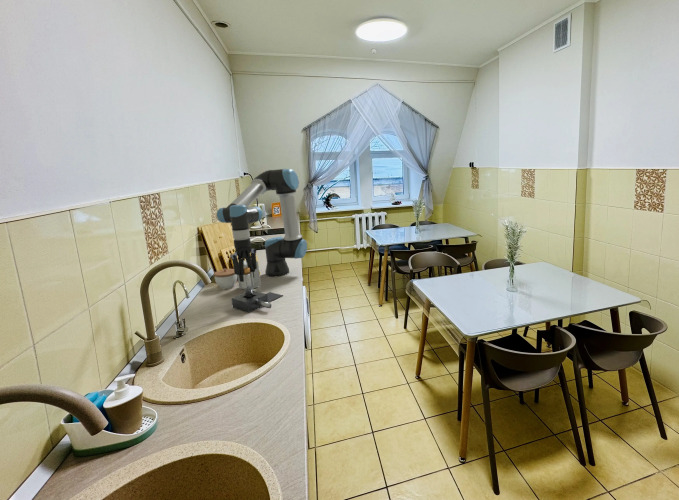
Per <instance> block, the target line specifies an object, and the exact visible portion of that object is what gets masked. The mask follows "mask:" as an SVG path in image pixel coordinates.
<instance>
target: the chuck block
mask: <svg viewBox="0 0 679 500" xmlns="http://www.w3.org/2000/svg"><path fill="white" fill-rule="evenodd" d="M252 291H253V296H252V297H245V292H243V293H240V294H239V295H236V296H233V297H231V304H232V309H236V310H238V311H242V312H245V313H252V312H253V311H256V310H258V309H260V308H266V309H271V308H272V303H271V302H269V303H268V296H267V293H264V292H261V291H256V290H252Z"/></svg>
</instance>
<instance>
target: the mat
mask: <svg viewBox="0 0 679 500" xmlns="http://www.w3.org/2000/svg"><path fill="white" fill-rule="evenodd" d="M266 294H267V296H268V303H271V302H273V301H275V300H277V299H279V298H282V297H284V295H283V294H280V293H275V292H271V291H269V292H267V293H266Z"/></svg>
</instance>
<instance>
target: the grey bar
mask: <svg viewBox="0 0 679 500" xmlns="http://www.w3.org/2000/svg"><path fill="white" fill-rule="evenodd" d="M243 274H244V275H245V279H246V286H247V288H244V289H243V290H244V293H245V297H252V296H253V291H254V290H253V289H252V283H251V275H250V267H245V268H244V270H243Z"/></svg>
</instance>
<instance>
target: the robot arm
mask: <svg viewBox="0 0 679 500" xmlns="http://www.w3.org/2000/svg"><path fill="white" fill-rule="evenodd" d="M299 182H300V181H299V176H298V174H297V173H296V171H295V170H294V169H293V168H281V169H268V170H265V171H263V172H261V173H259V174H258V175H257V176H255V177H254V178H253V179H252V180H251V182H250V184H249V185H248V187H246V188H245V189H244V190H243V191H242V192H241V193H240V194H239V195H237V197H236V198H235V199H233V201H231V202H230V204H228V206H226V207H220V208H218V209H217V212H216V218H217V220H218V221H219V222H220V223H221V224H222V223H225V224H230V223H231V224H230V225H231V231H232V238H233V244H234V245H233V246H234V249H235V250H234V253H233V254H230V256H229V257H230V258H231V261H232V266H233V269H234V272H235V274H236V275H237V276H238V275H239V279H240V282H241V285H242V288H247V286H246V279H245V275H244V274H243V270H244V261H245V260H246V262H247V266H248V267H250V275H251V283H252V285H254V280H253V278H254V272H255V269H257V264H256V261H257V256H256V255H257V249H255V248H252V247H251V246H252V242H251V238H250V237H251V234H250V226H249V224H252V223H258V222H259V221H261V220H262V218H263V216H264V212H263V210H262V208H261V207H260V206H255V205H252V204H253V203H254V202H255V201H256V200H257V199H258V198H259V197H260V196H261V195H264V194H265V193H267V192H269V191H275V194H276V195H277V196H278V197H279V203H280V210H281V216H282V222H283V229H284V236H274V237H270V238H268V239H266V240H265V241H264V248H265V249H264V250H265V256H266V257H265V258H266V266H265V267H266V268H265V270H264V271H265V276H267V277H275V276H277V277H282V275H283V276H285V274H286V275H288V274H289V273H290V268H289V266H288V264H287V261H286V259H303V258H304V257H305V255H306V253H307V251H308V242H307V240H306V239H303V235H302V234H301V233H300V229H299V223H298V214H297V206H296V200H295V194H296V193H297V189H298V188H299V185H300V183H299ZM251 205H252V206H251ZM287 273H288V274H287ZM275 278H276V277H275Z"/></svg>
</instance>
